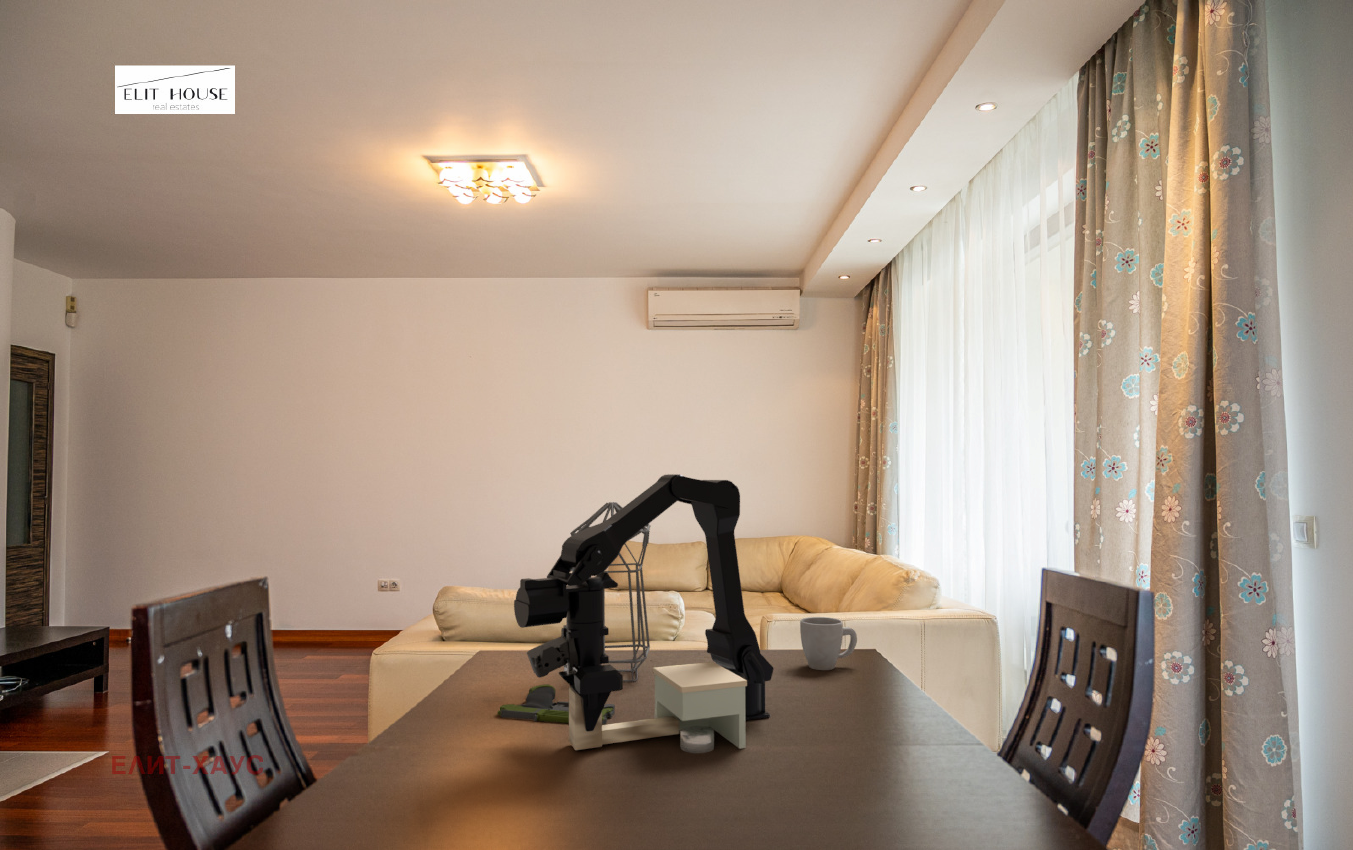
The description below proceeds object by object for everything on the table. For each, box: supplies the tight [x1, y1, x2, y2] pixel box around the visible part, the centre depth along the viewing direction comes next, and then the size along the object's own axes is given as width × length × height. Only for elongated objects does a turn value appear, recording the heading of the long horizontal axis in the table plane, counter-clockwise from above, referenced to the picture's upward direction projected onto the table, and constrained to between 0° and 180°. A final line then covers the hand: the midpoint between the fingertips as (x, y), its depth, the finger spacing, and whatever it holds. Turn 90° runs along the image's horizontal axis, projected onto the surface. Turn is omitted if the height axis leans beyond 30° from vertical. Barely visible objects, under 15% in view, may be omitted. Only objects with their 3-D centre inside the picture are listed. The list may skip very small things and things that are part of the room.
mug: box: [799, 616, 858, 671], centre depth 163 cm, size 12×9×10 cm
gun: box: [497, 684, 616, 725], centre depth 134 cm, size 2×19×15 cm
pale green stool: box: [652, 661, 747, 750], centre depth 119 cm, size 10×12×10 cm
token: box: [679, 725, 715, 754], centre depth 115 cm, size 5×5×2 cm
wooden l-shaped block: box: [568, 686, 680, 751], centre depth 117 cm, size 16×4×8 cm, turn 111°
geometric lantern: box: [570, 501, 652, 683], centre depth 156 cm, size 16×16×35 cm
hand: (585, 726), depth 115 cm, fingers closed on wooden l-shaped block, 4 cm apart
